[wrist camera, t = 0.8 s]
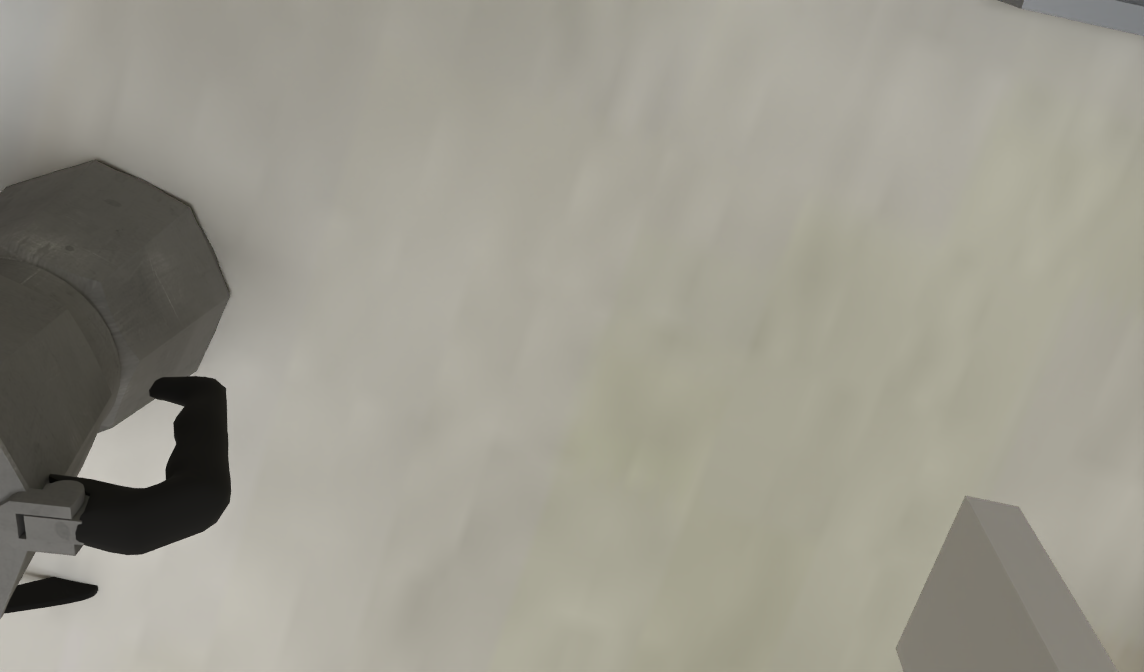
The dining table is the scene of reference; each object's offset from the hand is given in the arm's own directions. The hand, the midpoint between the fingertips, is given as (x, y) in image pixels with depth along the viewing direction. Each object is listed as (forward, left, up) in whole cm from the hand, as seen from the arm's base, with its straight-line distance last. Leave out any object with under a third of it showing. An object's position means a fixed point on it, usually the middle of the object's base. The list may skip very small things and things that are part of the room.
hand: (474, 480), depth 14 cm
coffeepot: (+10, -14, -25) cm, 30 cm away
